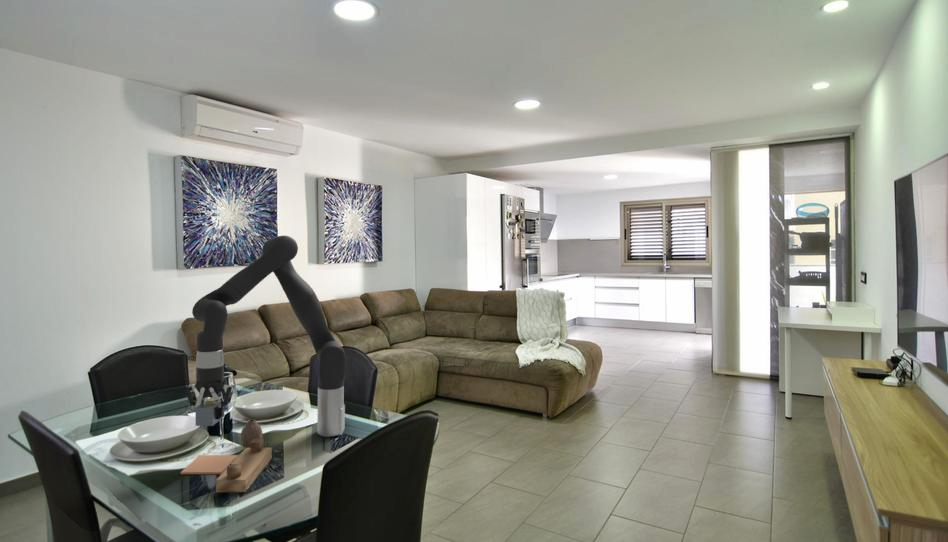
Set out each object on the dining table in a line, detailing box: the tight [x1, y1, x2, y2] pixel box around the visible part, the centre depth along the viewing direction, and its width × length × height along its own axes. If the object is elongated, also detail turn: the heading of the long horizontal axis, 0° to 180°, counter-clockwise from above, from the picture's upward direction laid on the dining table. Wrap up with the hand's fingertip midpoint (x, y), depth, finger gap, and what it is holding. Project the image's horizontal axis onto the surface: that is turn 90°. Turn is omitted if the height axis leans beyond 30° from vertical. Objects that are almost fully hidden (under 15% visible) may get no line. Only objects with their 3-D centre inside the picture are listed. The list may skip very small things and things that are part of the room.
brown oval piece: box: [239, 419, 263, 448], centre depth 172 cm, size 7×7×9 cm
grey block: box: [195, 397, 225, 427], centre depth 156 cm, size 5×8×6 cm, turn 4°
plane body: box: [215, 438, 273, 493], centre depth 151 cm, size 8×22×6 cm, turn 4°
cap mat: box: [180, 454, 239, 475], centre depth 157 cm, size 12×12×1 cm
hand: (210, 418), depth 156 cm, fingers closed on grey block, 5 cm apart
